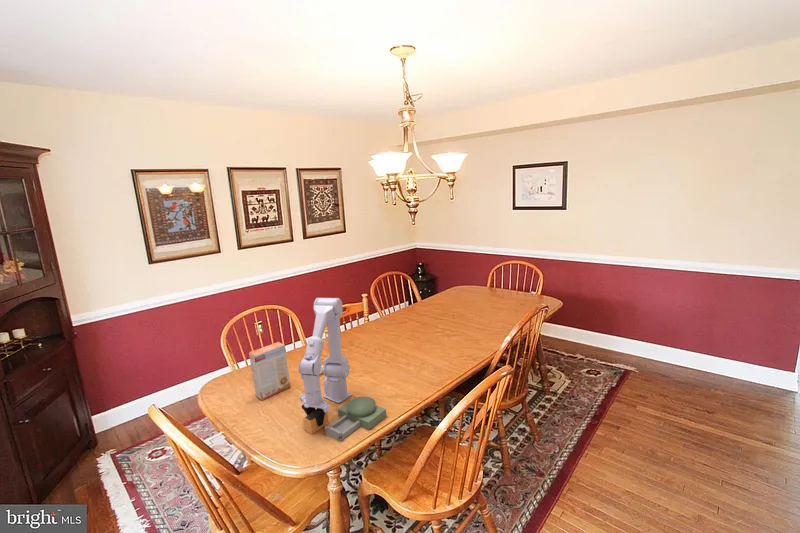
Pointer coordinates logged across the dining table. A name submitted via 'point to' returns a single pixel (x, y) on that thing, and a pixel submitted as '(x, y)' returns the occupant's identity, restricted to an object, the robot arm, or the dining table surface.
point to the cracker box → (269, 370)
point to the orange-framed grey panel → (313, 423)
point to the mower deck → (355, 417)
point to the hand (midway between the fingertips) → (316, 423)
